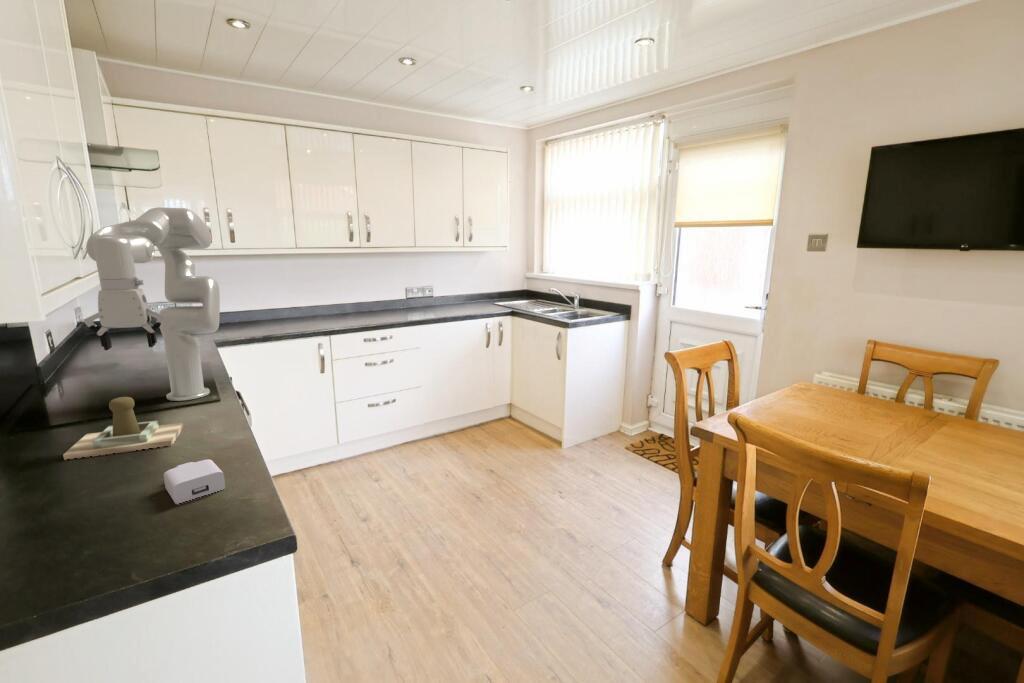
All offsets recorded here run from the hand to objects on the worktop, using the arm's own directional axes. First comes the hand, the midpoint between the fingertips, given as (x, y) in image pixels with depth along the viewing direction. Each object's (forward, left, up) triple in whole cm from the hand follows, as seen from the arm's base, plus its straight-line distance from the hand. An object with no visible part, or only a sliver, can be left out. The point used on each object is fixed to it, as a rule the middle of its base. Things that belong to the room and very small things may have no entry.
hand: (130, 347), depth 126 cm
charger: (+39, +18, -25) cm, 50 cm away
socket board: (+6, -2, -25) cm, 26 cm away
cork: (+6, -2, -24) cm, 24 cm away
